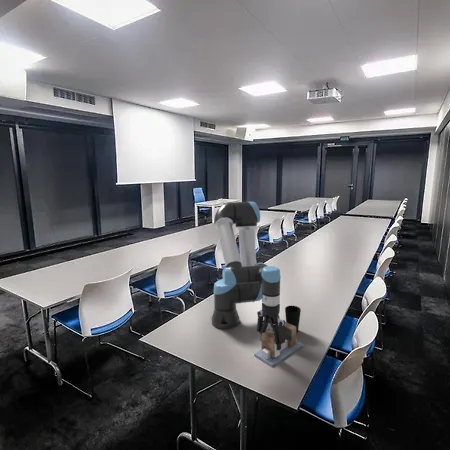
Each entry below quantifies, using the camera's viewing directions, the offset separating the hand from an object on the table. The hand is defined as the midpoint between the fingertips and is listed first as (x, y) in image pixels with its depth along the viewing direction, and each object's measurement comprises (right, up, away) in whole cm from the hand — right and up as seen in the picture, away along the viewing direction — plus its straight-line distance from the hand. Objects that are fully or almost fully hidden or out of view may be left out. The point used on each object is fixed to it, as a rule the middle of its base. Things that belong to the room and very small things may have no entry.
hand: (270, 351), depth 128 cm
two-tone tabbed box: (0, -1, 0) cm, 1 cm away
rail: (+5, -1, +4) cm, 6 cm away
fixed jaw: (+9, +1, +8) cm, 12 cm away
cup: (+14, +2, +20) cm, 25 cm away
